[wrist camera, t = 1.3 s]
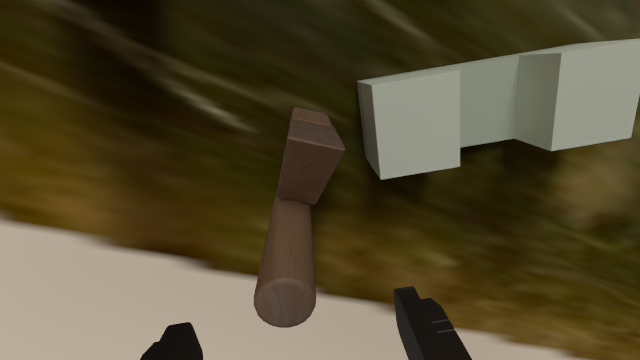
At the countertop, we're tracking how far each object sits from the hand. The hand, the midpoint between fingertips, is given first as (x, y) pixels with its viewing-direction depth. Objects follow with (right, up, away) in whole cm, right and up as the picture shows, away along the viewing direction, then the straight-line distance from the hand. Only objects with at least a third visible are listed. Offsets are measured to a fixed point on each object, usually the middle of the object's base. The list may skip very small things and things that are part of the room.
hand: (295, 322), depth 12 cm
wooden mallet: (-1, +8, +21) cm, 23 cm away
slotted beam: (+16, +14, +20) cm, 29 cm away
